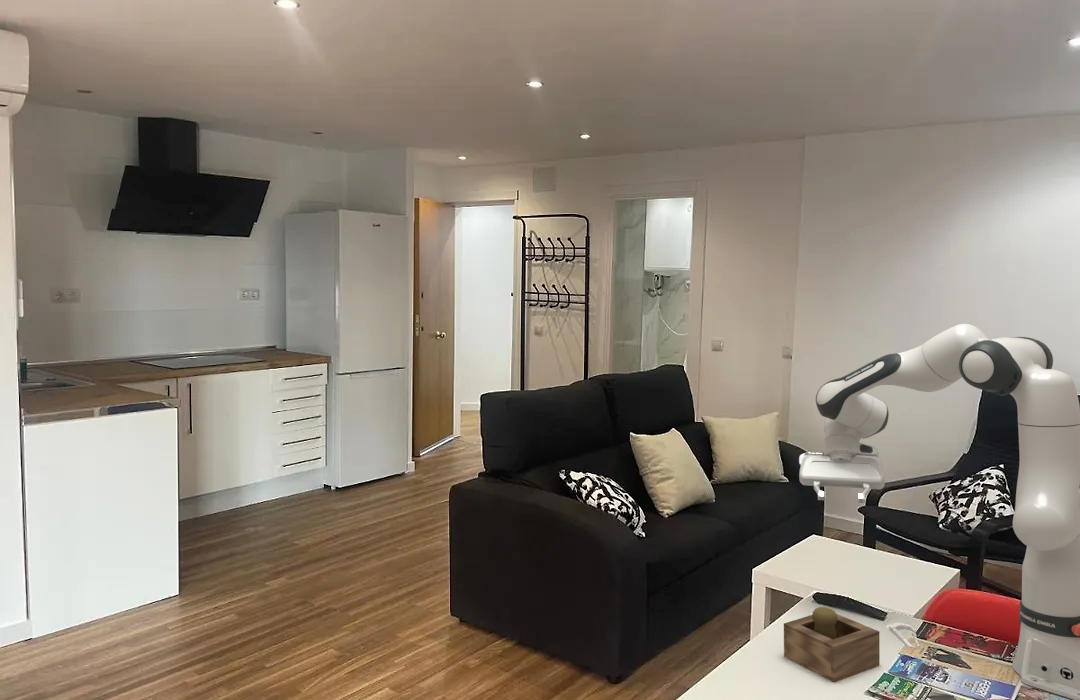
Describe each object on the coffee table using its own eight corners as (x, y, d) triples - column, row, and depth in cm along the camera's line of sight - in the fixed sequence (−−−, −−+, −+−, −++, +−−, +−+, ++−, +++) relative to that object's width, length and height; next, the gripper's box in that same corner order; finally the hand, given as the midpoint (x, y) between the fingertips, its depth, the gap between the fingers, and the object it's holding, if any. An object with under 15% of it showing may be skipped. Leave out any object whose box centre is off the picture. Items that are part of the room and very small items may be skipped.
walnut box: (879, 665, 172) (879, 631, 172) (834, 682, 166) (833, 646, 165) (828, 641, 185) (828, 610, 184) (784, 656, 178) (783, 623, 177)
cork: (844, 663, 172) (843, 614, 171) (816, 664, 172) (815, 615, 171) (833, 651, 178) (833, 603, 177) (806, 652, 178) (806, 604, 177)
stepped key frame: (931, 653, 180) (932, 646, 180) (909, 653, 180) (909, 646, 180) (905, 626, 193) (905, 619, 192) (885, 627, 193) (885, 620, 192)
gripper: (798, 445, 207) (796, 491, 199) (884, 448, 199) (885, 496, 191) (799, 458, 211) (797, 504, 203) (883, 462, 204) (885, 509, 196)
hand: (841, 500), depth 197 cm, fingers open, 8 cm apart
